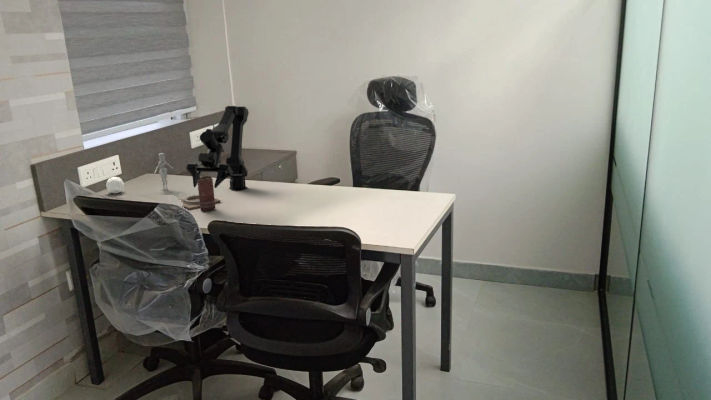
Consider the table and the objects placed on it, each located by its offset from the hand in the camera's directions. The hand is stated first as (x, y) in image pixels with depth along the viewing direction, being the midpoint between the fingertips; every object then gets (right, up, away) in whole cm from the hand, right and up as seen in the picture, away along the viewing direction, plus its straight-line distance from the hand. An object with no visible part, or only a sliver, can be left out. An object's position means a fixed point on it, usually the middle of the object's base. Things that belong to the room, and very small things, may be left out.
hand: (204, 187), depth 232 cm
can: (0, -10, +4) cm, 11 cm away
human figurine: (-28, -1, +35) cm, 45 cm away
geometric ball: (-51, -2, +33) cm, 61 cm away
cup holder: (-7, -6, +15) cm, 18 cm away
